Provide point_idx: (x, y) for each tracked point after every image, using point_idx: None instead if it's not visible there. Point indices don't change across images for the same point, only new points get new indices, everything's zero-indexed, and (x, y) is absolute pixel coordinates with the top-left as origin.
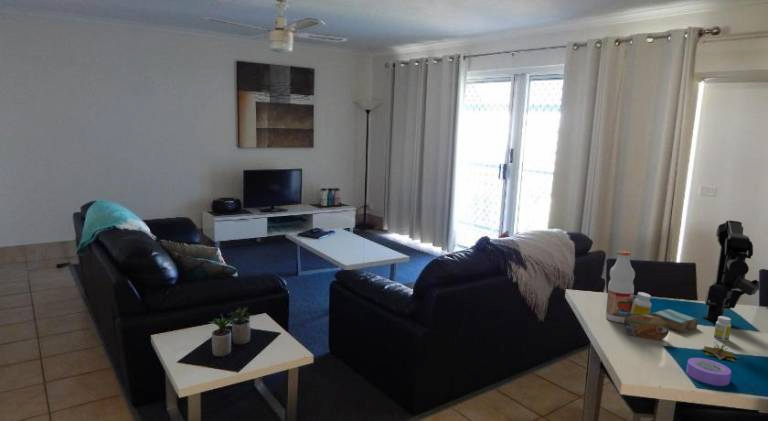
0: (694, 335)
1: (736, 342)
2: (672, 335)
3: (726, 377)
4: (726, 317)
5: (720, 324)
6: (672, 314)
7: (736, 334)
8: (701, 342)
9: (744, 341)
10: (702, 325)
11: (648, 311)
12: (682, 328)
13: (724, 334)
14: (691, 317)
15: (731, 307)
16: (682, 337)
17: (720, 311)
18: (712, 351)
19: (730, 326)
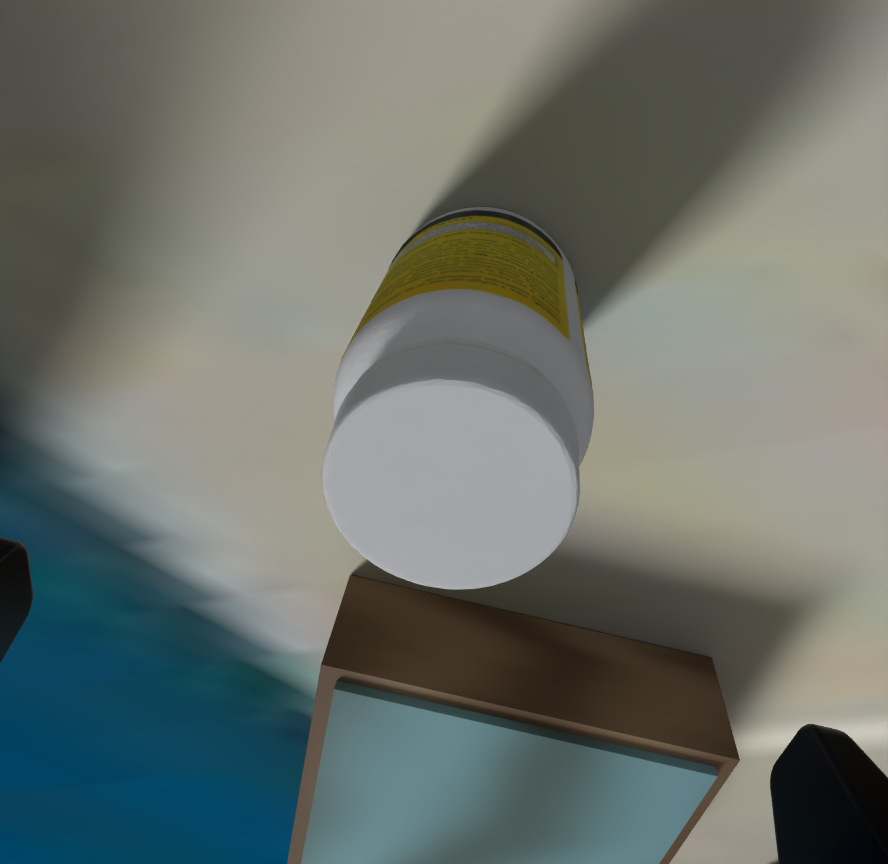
0: (651, 547)
1: (431, 92)
2: (866, 691)
3: None
4: (367, 472)
5: (585, 450)
6: (462, 855)
7: (48, 182)
8: (879, 447)
9: (248, 3)
10: (176, 548)
11: None
12: (678, 689)
13: (571, 292)
14: (357, 726)
15: (26, 595)
16: (853, 619)
17: (834, 744)
18: None
19: (485, 291)
